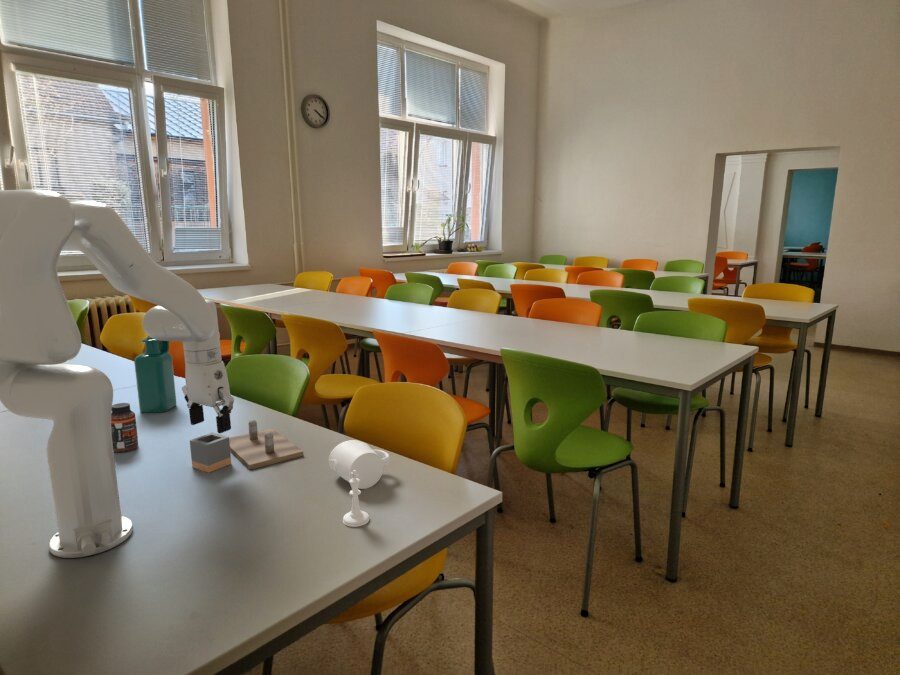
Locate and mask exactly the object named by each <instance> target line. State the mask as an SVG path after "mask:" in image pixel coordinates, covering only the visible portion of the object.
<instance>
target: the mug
mask: <svg viewBox="0 0 900 675" xmlns="http://www.w3.org/2000/svg"><path fill="white" fill-rule="evenodd" d="M390 460H391V457H390V454H389V453H387V452H386V451H384V450H381V449H373V448H371V446H369V444H367V443H366V442H363V441H361V440H357V439H349V440H345V441H342V442H340V443H339V444H337V445H336V446H335V447H334V448H333V449H332V450H331V452H330V453H329V456H328V465H329V467H330V468H331V470H332V471H334V472H336V473H337V474H338V475H339V476H340V478H342V479H343V480H345V481H346V482H347V483H349V481H350V479H353V476H351V473H352V472H353V470H356V474H358V477H357V478H358V479H360V484H359V487H358V489H359V490H366V489H369V488H371V487H373V486H375V485H376V484H377V483H378V482H379V480H380V479H381V477H382V476H383V472H384V468H385V467H386V466H388V465H390V463H391V462H390Z"/></svg>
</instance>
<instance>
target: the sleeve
mask: <svg viewBox="0 0 900 675" xmlns="http://www.w3.org/2000/svg"><path fill="white" fill-rule="evenodd" d="M229 438H230V436H226V435H223V434H221V433H218V432H214V431H212V432H209V433H207V434H204V435H201V436H198V437H196V438H192V439H190V440H189V446H190V458H191V467H192V468H194V469H197V470H200V471H202V472H205V473H207V474H209V473H211V472H214V471H216V470H219V469H221V468H223V467H226V466H229V465H231V464H232V457H231V452H230V442H229Z"/></svg>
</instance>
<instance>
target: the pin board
mask: <svg viewBox="0 0 900 675" xmlns="http://www.w3.org/2000/svg"><path fill="white" fill-rule="evenodd" d="M229 442H230V454H231V453H232V455H234V457H235V458H236V459H237V460H239V461H240V462H241V463H242V464H243V465H244V466H245V467H246V468H247V469H248V470H249V471H250V470H255V469H258V468H262V467H266V466H269V465H274V464H278V463H281V462H286V461H289V460H293V459H297V458H301V457H304V450H303V449H301V448H299V447H298V446H297V445H295V444H294V443H293V442H291V440H289V439H287V438H286V437H285V436H283V435H282V434H281V433H279V432H278V431H276V430H275V429H273V428H267V429H264V430H263V429H262V430H258V422H257V421H256V420H255V419H250V420H249V421H248V433H245V434H240V435H235V436H231V437H229Z"/></svg>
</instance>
